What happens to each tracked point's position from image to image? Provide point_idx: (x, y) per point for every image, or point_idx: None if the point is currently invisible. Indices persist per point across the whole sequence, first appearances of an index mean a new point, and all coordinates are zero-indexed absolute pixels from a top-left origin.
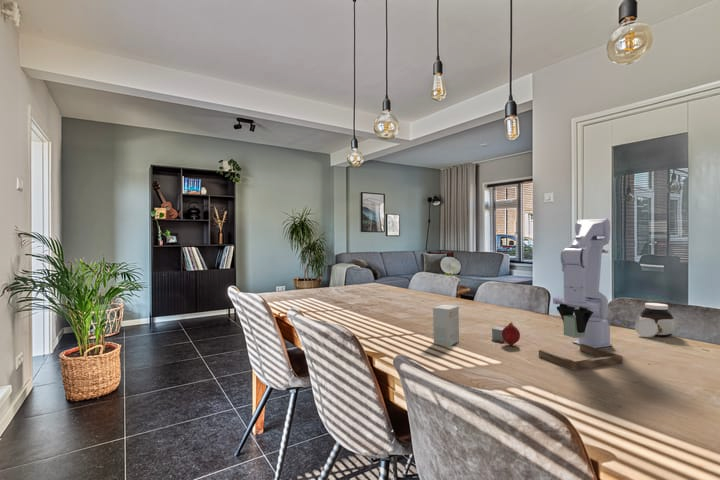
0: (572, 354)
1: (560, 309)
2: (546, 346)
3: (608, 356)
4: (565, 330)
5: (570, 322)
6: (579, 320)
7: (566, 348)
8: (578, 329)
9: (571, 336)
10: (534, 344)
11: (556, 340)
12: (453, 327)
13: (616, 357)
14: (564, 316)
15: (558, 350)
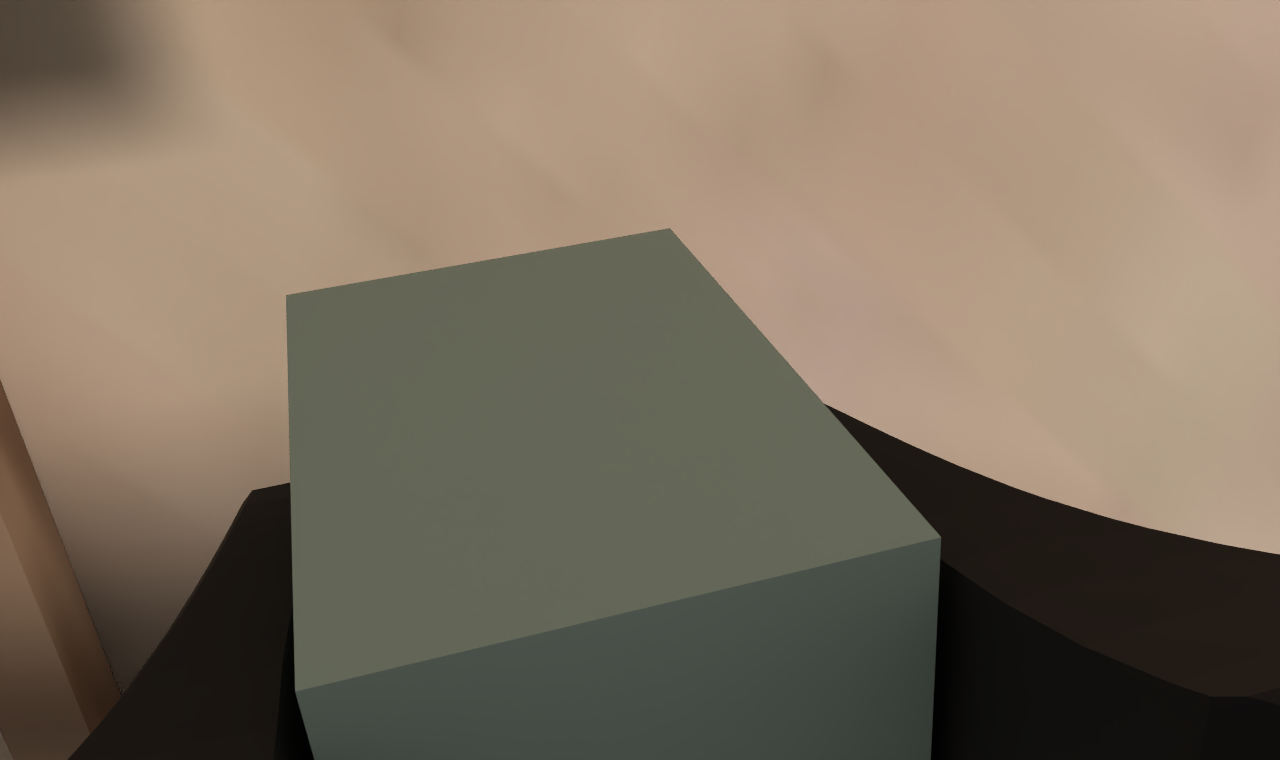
0: None
1: (1265, 643)
2: (1106, 193)
3: (45, 660)
4: (650, 294)
5: (506, 490)
6: (87, 751)
7: (900, 439)
8: (250, 522)
9: (403, 279)
10: (1275, 60)
11: (1237, 539)
12: None
13: (15, 757)
14: (882, 536)
15: (867, 244)
